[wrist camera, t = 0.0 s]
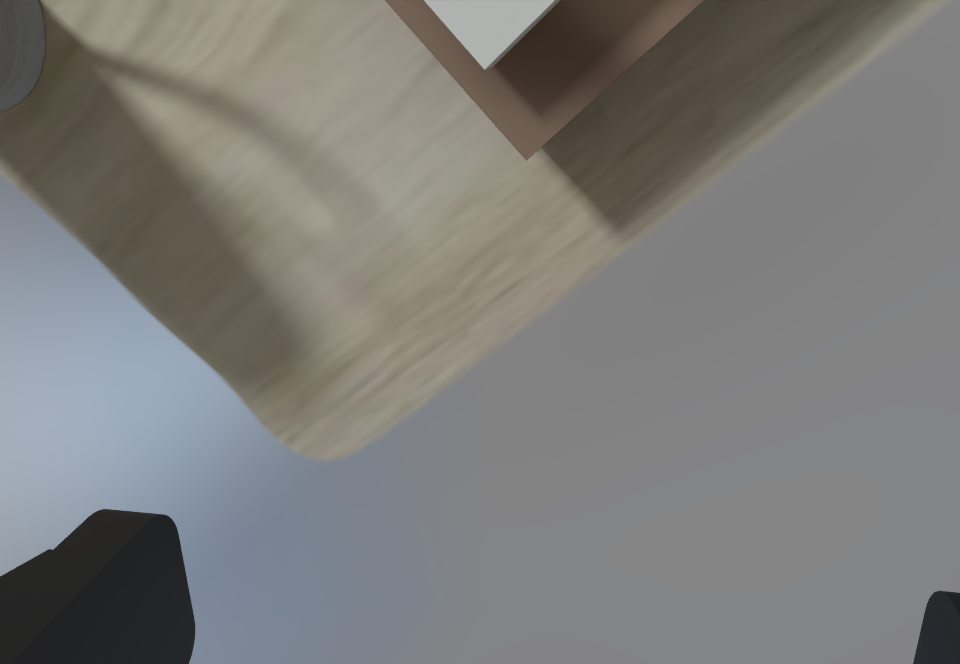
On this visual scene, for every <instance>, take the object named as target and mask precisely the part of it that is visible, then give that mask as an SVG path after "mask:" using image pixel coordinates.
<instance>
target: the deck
mask: <svg viewBox="0 0 960 664" xmlns="http://www.w3.org/2000/svg"><path fill="white" fill-rule="evenodd" d="M385 1H386V2H387V3H388V4H389V5H390V7H391V8H392V9H393V10H394V11H395V12H396V13H397V14H398V16H399V17H400V18H401V19H402V20H403V21H404V22H405V24H406V25H407V26H408V27H409V28H410V29H411V30H412V32H413V33H414V34H415V35H416V36H417V37H418V38H419V39H420V41H421V42H422V43H423V44H424V45H425V46H426V47H427V49H428V50H429V51H430V52H431V53H432V54H433V55H434V56H435V58H436V59H437V60H438V61H439V62H440V63H441V64H442V66H443V67H444V68H445V69H446V70H447V71H448V72H449V73H450V75H451V76H452V77H453V78H454V79H455V80H456V81H457V83H458V84H459V85H460V86H461V87H462V88H463V89H464V90H465V92H466V93H467V94H468V95H469V96H470V97H471V98H472V100H473V101H474V102H475V103H476V104H477V105H478V106H479V107H480V109H481V110H482V111H483V112H484V113H485V114H486V115H487V117H488V118H489V119H490V120H491V121H492V122H493V123H494V124H495V126H496V127H497V128H498V129H499V130H500V131H501V132H502V134H503V135H504V136H505V137H506V138H507V139H508V140H509V141H510V143H511V144H512V145H513V146H514V147H515V148H516V149H517V151H518V152H519V153H520V154H521V155H522V156H523V157H524V158H525V160H526V161H527V160H528V159H529V158H530V157H531V156H532V155H533V154H534V153H535V152H537V151H538V150H539V149H540V148H541V147H542V146H543V145H544V144H545V143H546V142H548V141H549V140H550V139H551V138H552V137H553V136H554V135H555V134H556V133H558V132H559V131H560V130H561V129H562V128H563V127H564V126H565V125H566V124H567V123H569V122H570V121H571V120H572V119H573V118H574V117H575V116H576V115H577V114H579V113H580V112H581V111H582V110H583V109H584V108H585V107H586V106H587V105H588V104H590V103H591V102H592V101H593V100H594V99H595V98H596V97H597V96H598V95H600V94H601V93H602V92H603V91H604V90H605V89H606V88H607V87H608V86H609V85H611V84H612V83H613V82H614V81H615V80H616V79H617V78H618V77H619V76H621V75H622V74H623V73H624V72H625V71H626V70H627V69H628V68H629V67H630V66H632V65H633V64H634V63H635V62H636V61H637V60H638V59H639V58H640V57H642V56H643V55H644V54H645V53H646V52H647V51H648V50H649V49H650V48H651V47H653V46H654V45H655V44H656V43H657V42H658V41H659V40H660V39H661V38H663V37H664V36H665V35H666V34H667V33H668V32H669V31H670V30H671V29H672V28H674V27H675V26H676V25H677V24H678V23H679V22H680V21H681V20H682V19H684V18H685V17H686V16H687V15H688V14H689V13H690V12H691V11H692V10H693V9H695V8H696V7H697V6H698V5H699V4H700V3H701V2H702V1H703V0H560V1H559V2H558V3H557V4H556V5H555V6H554V7H553V8H552V9H551V10H550V11H549V12H548V13H547V14H546V15H545V16H544V17H543V18H542V19H541V20H540V21H539V22H538V23H537V24H536V25H535V26H534V27H533V28H532V29H531V30H530V31H529V32H528V33H527V34H526V35H525V36H524V37H523V38H522V39H521V40H520V41H519V42H518V43H517V44H516V45H515V46H514V47H513V48H512V49H511V50H510V51H509V52H508V53H506V54H505V55H504V56H503V57H502V58H501V59H500V60H499V61H498V62H497V63H496V64H495V65H494V66H493V67H490V68H488V69H485V70H484V69H483V67H482V66H481V65H480V64H479V63H478V62H477V61H476V59H475V58H474V57H473V56H472V55H471V54H470V53H469V51H468V50H467V49H466V48H465V47H464V46H463V45H462V43H461V42H460V41H459V40H458V39H457V38H456V37H455V35H454V34H453V33H452V32H451V31H450V30H449V28H448V27H447V26H446V25H445V24H444V23H443V22H442V20H441V19H440V18H439V17H438V16H437V15H436V14H435V12H434V11H433V10H432V9H431V8H430V7H429V6H428V4H427V3H426V2H425V1H424V0H385Z"/></svg>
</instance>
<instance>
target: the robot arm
mask: <svg viewBox="0 0 960 664" xmlns="http://www.w3.org/2000/svg"><path fill="white" fill-rule="evenodd" d="M194 640H195V621H194V615H193V609H192V604H191V599H190V593H189V589H188V583H187V577H186V572H185V567H184V562H183V556H182V551H181V545H180V540H179V535H178V531H177V527H176V525H175V523H174V522H173V520H172V519H171V518H170V517H169V516H166V515H162V514H152V513H141V512H130V511H120V510H109V509H103V510H99V511H97V512H95V513H93V514H92V515H91V516H89V517H88V518H87V519H86V520H85V521H84V522H83V523H82V524H81V525H79V527H77V528H76V529H75V530H74V531H73V532H72V533H71V534H70V535H69V536H68V537H67V538H65V539H64V540H63V541H62V542H61V543H60V544H59V545H58V546H57V547H56V548H55V549H54V550H50V549H49V550H47V551H45V552H43V553H42V554H40V555H38V556H36V557H34V558H33V559H31V560H29V561H27V562H26V563H24V564H22V565H20V566H18V567H17V568H15V569H13V570H11V571H9V572H8V573H6V574H4V575H3V576H0V664H189V661H190V658H191V655H192V651H193V646H194ZM913 664H960V593H956V592H945V591H937V592H935V593H933V595H932V596H931V597H930V599H929V601H928V603H927V606H926V610H925V614H924V618H923V623H922V627H921V632H920V636H919V641H918V645H917V649H916V654H915V658H914V663H913Z"/></svg>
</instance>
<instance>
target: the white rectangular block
mask: <svg viewBox="0 0 960 664" xmlns="http://www.w3.org/2000/svg"><path fill="white" fill-rule="evenodd" d="M424 1H425V2H426V3H427V4H428V6H429V7H430V8H431V9H432V10H433V11H434V12H435V14H436V15H437V16H438V17H439V18H440V19H441V20H442V22H443V23H444V24H445V25H446V26H447V27H448V28H449V30H450V31H451V32H452V33H453V34H454V35H455V37H456V38H457V39H458V40H459V41H460V42H461V43H462V45H463V46H464V47H465V48H466V49H467V50H468V51H469V53H470V54H471V55H472V56H473V57H474V58H475V59H476V61H477V62H478V63H479V64H480V65H481V66H482V67H483V69H484V70H485V69H488V68H490V67H493V66H494V65H495V64H496V63H497V62H498V61H499V60H500V59H501V58H502V57H503V56H504V55H505V54H506V53H508V52H509V51H510V50H511V49H512V48H513V47H514V46H515V45H516V44H517V43H518V42H519V41H520V40H521V39H522V38H523V37H524V36H525V35H526V34H527V33H528V32H529V31H530V30H531V29H532V28H533V27H534V26H535V25H536V24H537V23H538V22H539V21H540V20H541V19H542V18H543V17H544V16H545V15H546V14H547V13H548V12H549V11H550V10H551V9H552V8H553V7H554V6H555V5H556V4H557V3H558V2H559V1H560V0H424Z"/></svg>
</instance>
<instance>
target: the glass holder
mask: <svg viewBox="0 0 960 664" xmlns="http://www.w3.org/2000/svg"><path fill="white" fill-rule="evenodd" d="M45 49H46V33H45V22H44V18H43V14H42V10H41V6H40V3H39V0H0V112H2V111H5V110H8V109H10V108H12V107H13V106H15V105H17V104H19V103H20V102H21V101H22V100H23V99H24V98H25V97H26V96H28V94H29V93H30V92H31V90H32V89H33V87H34V86H35V85H36V83H37V80H38V78H39V76H40V73H41V71H42V67H43V63H44V58H45Z"/></svg>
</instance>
